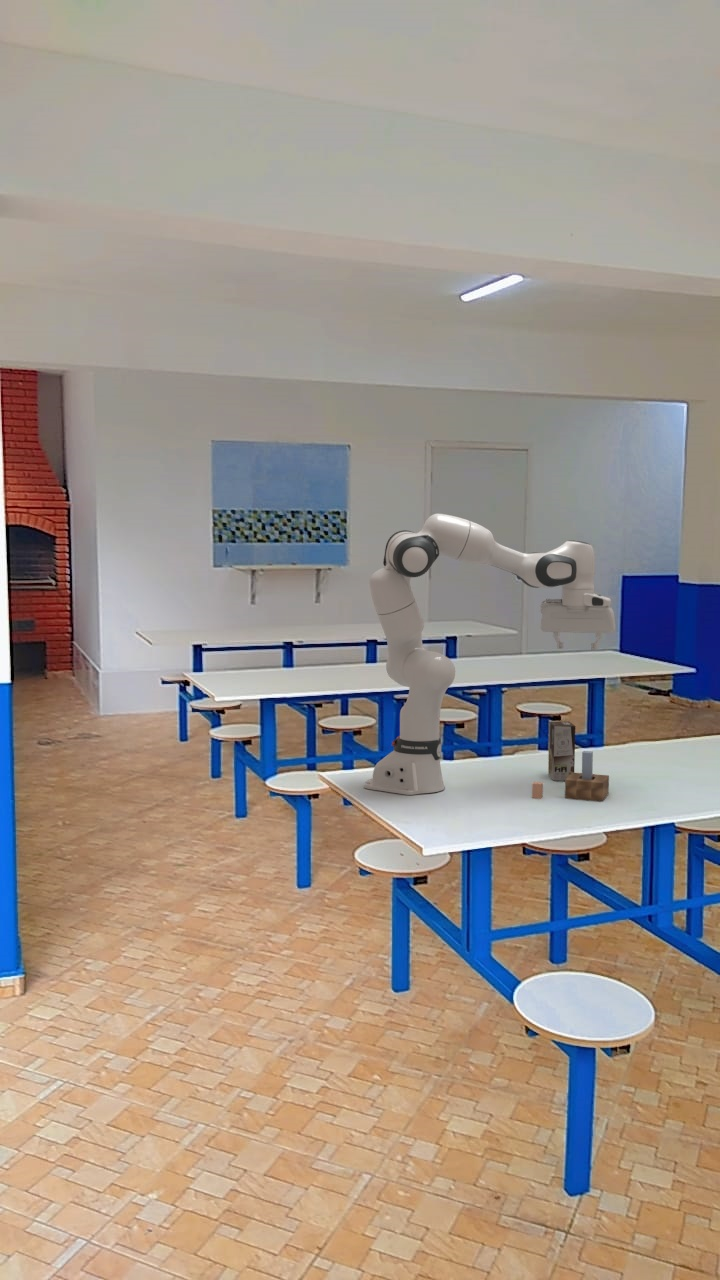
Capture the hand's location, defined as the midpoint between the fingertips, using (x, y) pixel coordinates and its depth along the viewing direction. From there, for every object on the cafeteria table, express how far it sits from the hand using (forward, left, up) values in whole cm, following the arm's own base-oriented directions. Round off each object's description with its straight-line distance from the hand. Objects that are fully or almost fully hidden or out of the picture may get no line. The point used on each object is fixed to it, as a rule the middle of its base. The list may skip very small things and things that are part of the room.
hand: (577, 649), depth 280 cm
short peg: (-7, -16, -39) cm, 43 cm away
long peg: (+5, -9, -39) cm, 40 cm away
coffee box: (-6, +11, -39) cm, 41 cm away
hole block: (+5, -9, -39) cm, 40 cm away
